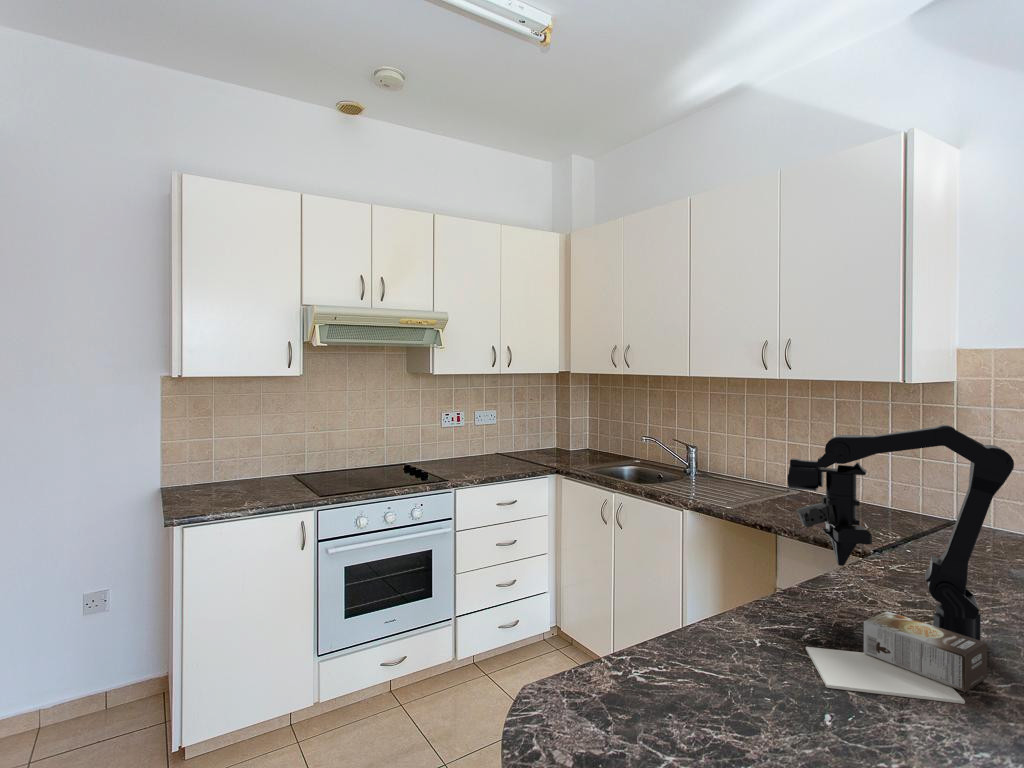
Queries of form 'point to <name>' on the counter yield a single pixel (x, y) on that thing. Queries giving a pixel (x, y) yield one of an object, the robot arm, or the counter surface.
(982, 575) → the counter surface
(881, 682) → the mat
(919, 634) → the coffee box
